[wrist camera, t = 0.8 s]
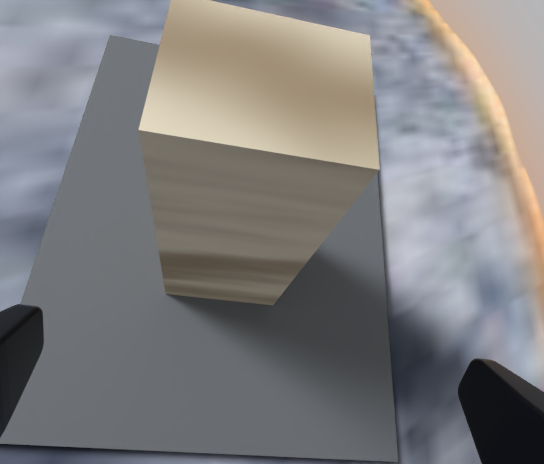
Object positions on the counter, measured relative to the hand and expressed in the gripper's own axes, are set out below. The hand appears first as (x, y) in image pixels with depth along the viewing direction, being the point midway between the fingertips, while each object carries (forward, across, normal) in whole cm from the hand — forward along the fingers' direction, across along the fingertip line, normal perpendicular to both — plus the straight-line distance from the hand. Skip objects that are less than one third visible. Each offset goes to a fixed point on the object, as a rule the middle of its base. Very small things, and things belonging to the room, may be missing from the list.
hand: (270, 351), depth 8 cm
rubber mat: (+17, +1, +4) cm, 17 cm away
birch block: (+14, +1, +5) cm, 15 cm away
